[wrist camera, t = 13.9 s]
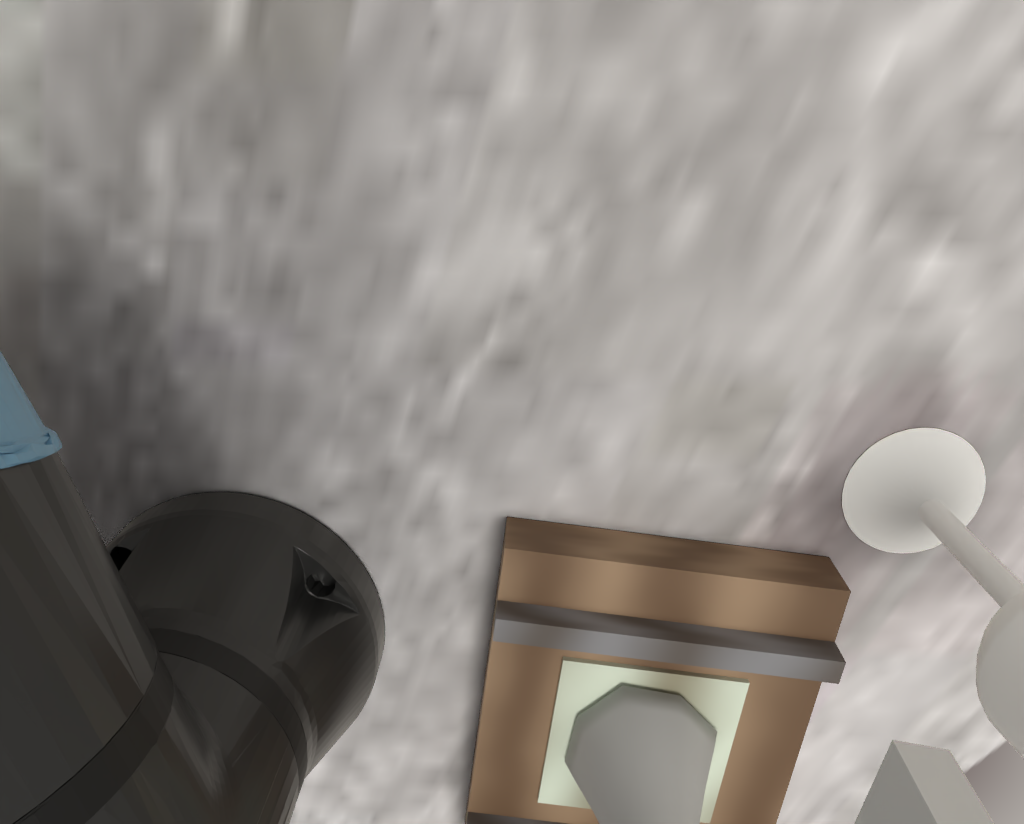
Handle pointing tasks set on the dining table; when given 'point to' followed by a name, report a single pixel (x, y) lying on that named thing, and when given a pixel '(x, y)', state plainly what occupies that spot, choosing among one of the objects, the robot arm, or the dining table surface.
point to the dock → (650, 661)
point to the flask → (642, 758)
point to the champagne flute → (942, 520)
